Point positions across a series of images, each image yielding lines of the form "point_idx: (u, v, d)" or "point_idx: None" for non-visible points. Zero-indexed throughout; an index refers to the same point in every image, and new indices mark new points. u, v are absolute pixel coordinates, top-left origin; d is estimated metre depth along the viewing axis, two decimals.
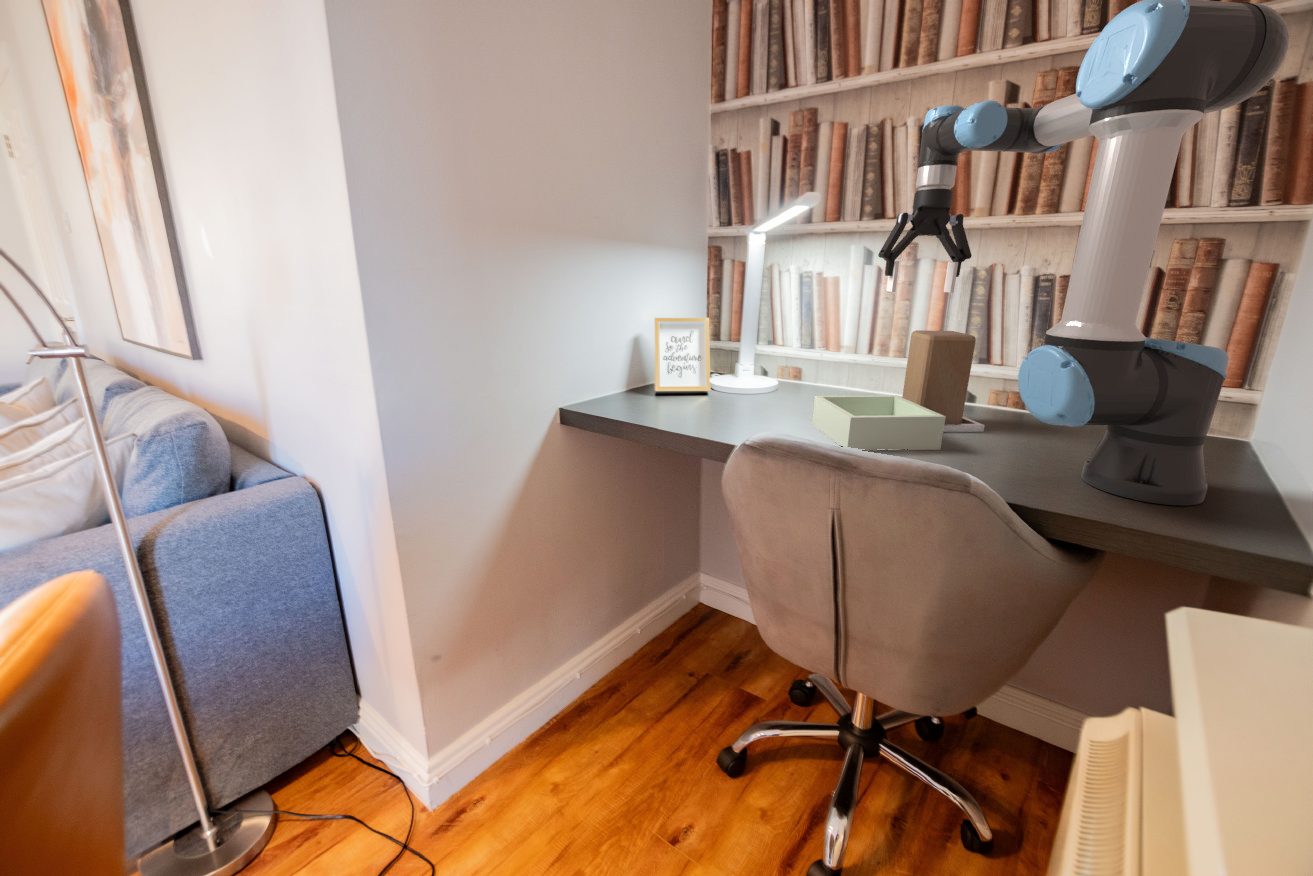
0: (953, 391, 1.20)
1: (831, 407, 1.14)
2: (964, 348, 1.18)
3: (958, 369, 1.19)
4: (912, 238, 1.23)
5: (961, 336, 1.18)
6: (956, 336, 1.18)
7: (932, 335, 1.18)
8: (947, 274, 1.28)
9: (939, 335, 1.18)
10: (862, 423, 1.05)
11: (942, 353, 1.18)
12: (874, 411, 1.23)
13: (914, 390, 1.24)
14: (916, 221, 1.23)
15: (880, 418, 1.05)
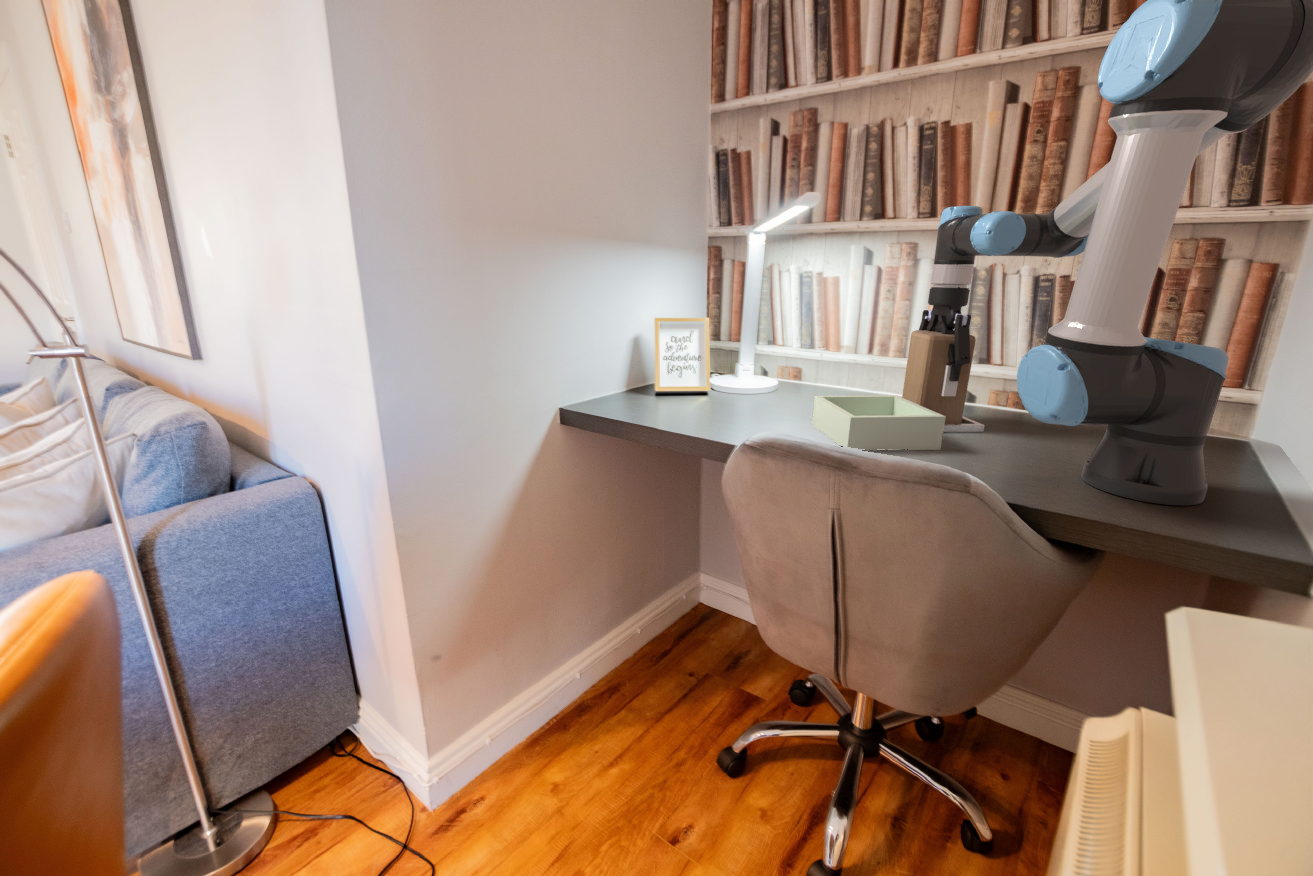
0: None
1: (831, 407, 1.14)
2: None
3: None
4: None
5: None
6: None
7: (932, 335, 1.18)
8: None
9: (939, 335, 1.18)
10: (862, 423, 1.05)
11: (942, 353, 1.18)
12: (874, 411, 1.23)
13: (914, 390, 1.24)
14: None
15: (880, 418, 1.05)
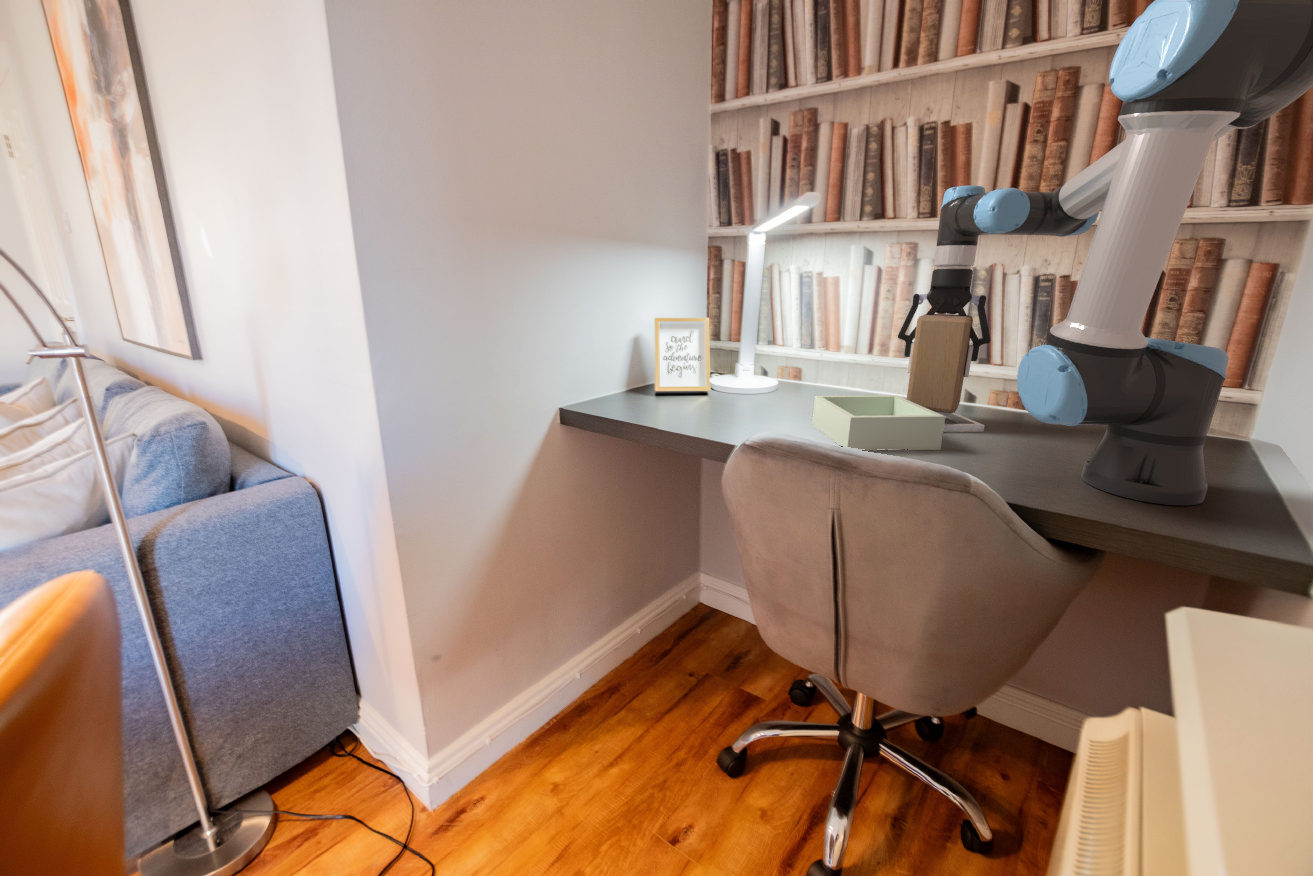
0: None
1: (831, 407, 1.14)
2: None
3: None
4: None
5: (970, 316, 1.20)
6: (970, 317, 1.19)
7: (967, 318, 1.15)
8: (966, 358, 1.22)
9: (968, 317, 1.16)
10: (862, 423, 1.05)
11: (969, 335, 1.18)
12: (874, 411, 1.23)
13: (945, 376, 1.19)
14: (930, 300, 1.20)
15: (880, 418, 1.05)
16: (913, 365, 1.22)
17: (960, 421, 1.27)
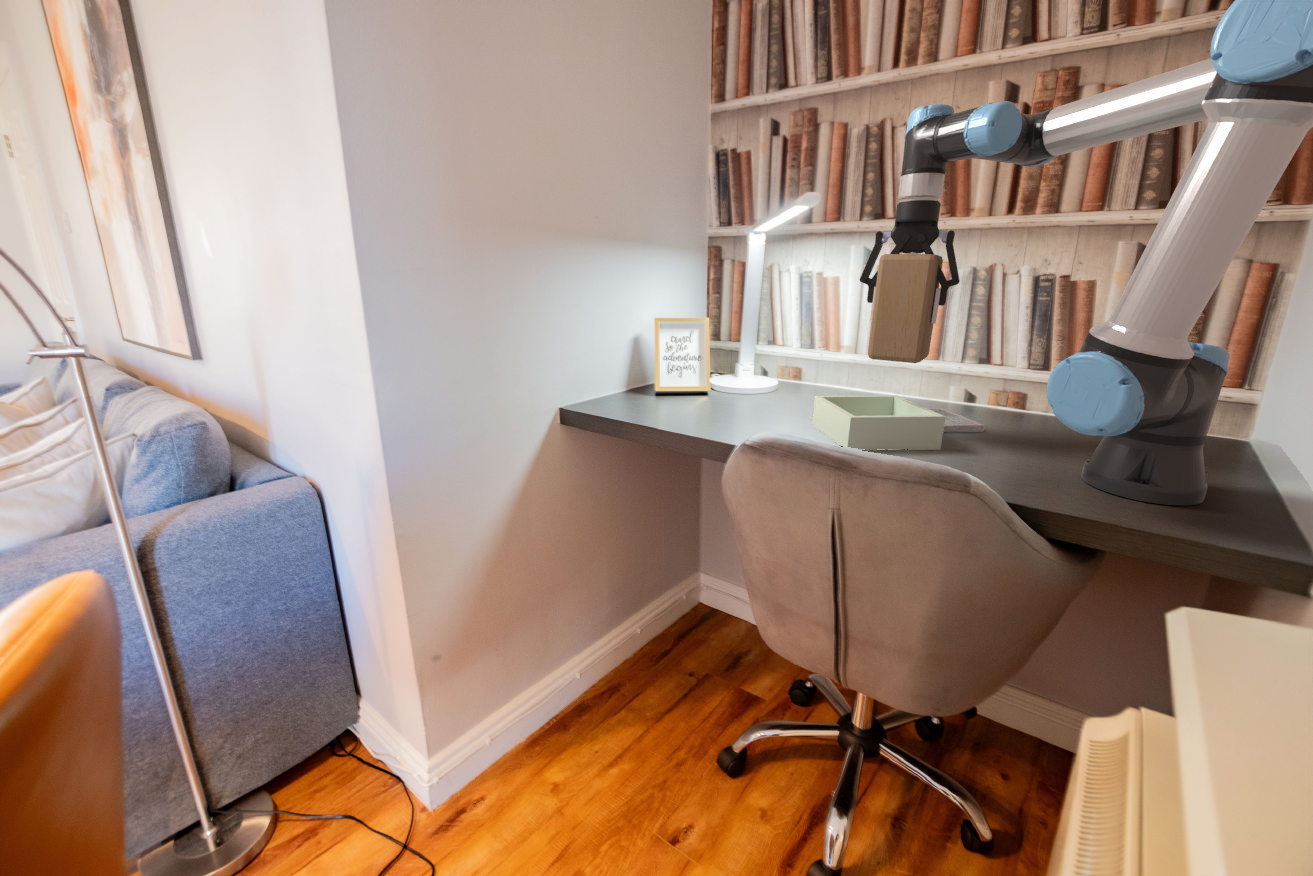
0: None
1: (831, 407, 1.14)
2: None
3: None
4: None
5: (939, 256, 1.09)
6: (938, 256, 1.08)
7: (932, 255, 1.04)
8: None
9: (934, 255, 1.05)
10: (862, 423, 1.05)
11: (935, 275, 1.06)
12: (874, 411, 1.23)
13: (908, 322, 1.08)
14: (894, 238, 1.09)
15: (880, 418, 1.05)
16: (875, 310, 1.11)
17: (960, 421, 1.27)
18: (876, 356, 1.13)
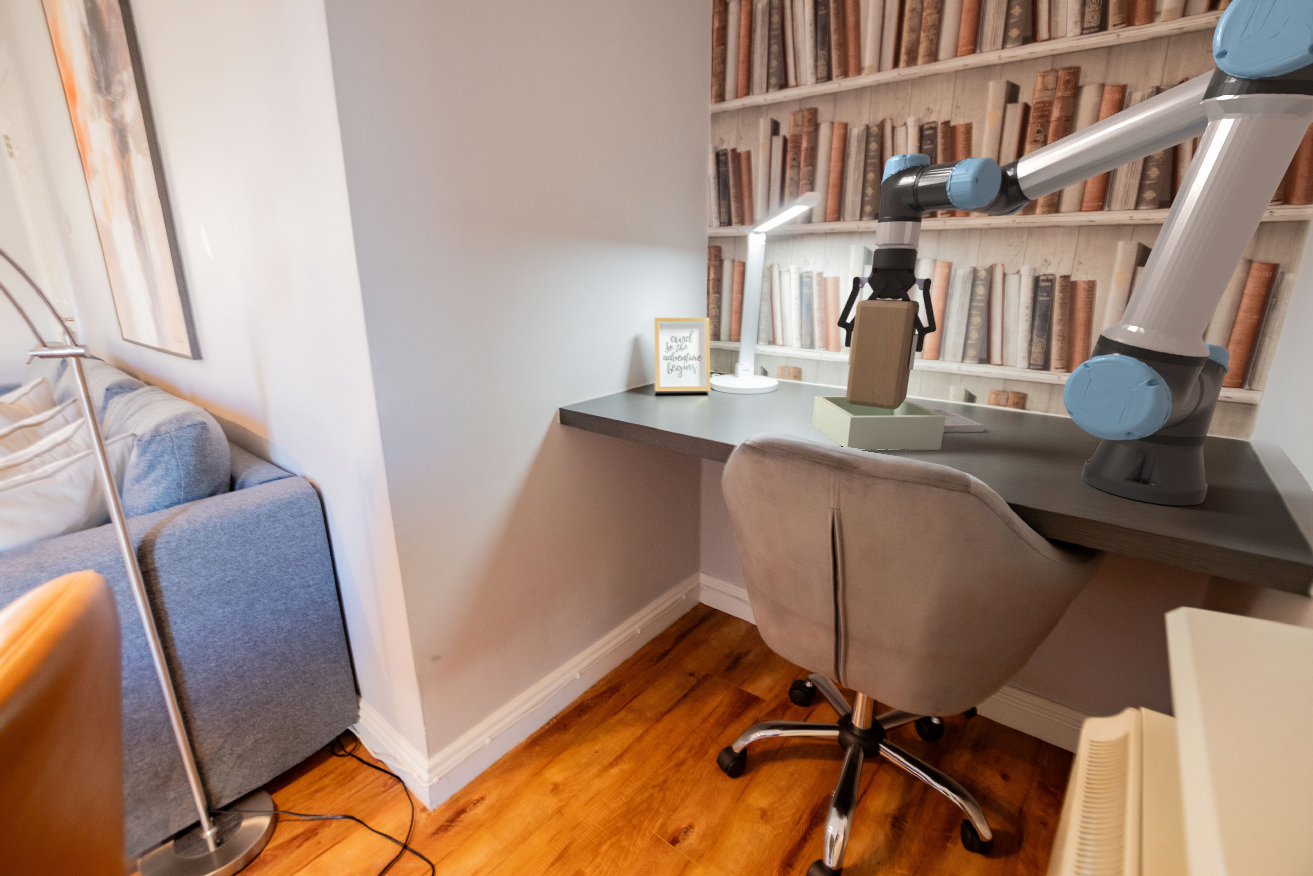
0: None
1: (831, 407, 1.14)
2: None
3: None
4: None
5: (915, 302, 1.08)
6: (915, 302, 1.07)
7: (909, 303, 1.03)
8: None
9: (911, 303, 1.04)
10: (862, 423, 1.05)
11: (912, 323, 1.06)
12: (874, 411, 1.23)
13: (886, 368, 1.07)
14: (871, 284, 1.08)
15: (880, 418, 1.05)
16: (852, 356, 1.10)
17: (960, 421, 1.27)
18: (855, 402, 1.12)
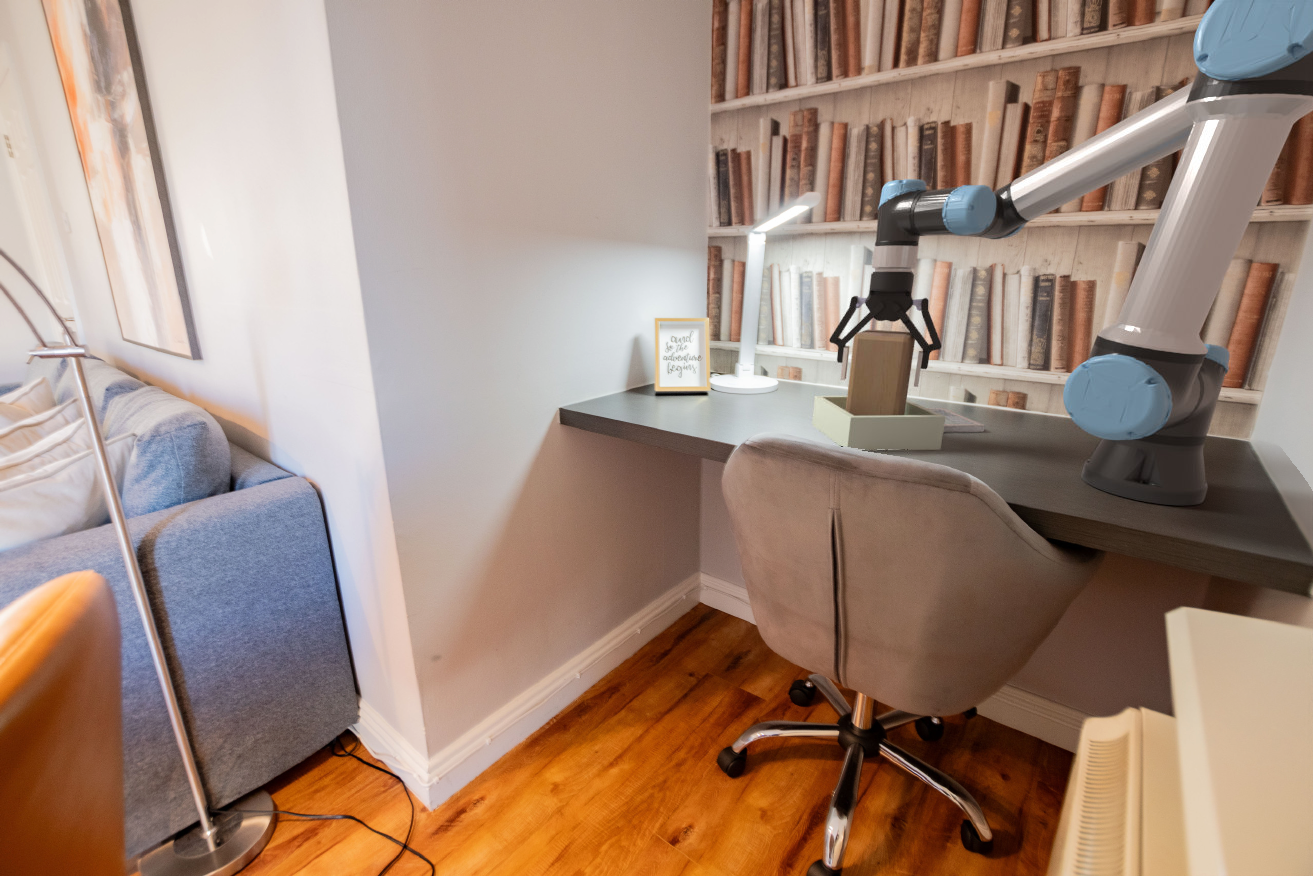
0: (906, 393, 1.13)
1: (831, 407, 1.14)
2: (913, 346, 1.11)
3: (909, 369, 1.12)
4: (863, 324, 1.10)
5: (911, 334, 1.10)
6: (911, 335, 1.09)
7: (906, 337, 1.05)
8: None
9: (907, 336, 1.06)
10: (862, 423, 1.05)
11: (909, 355, 1.07)
12: None
13: (883, 400, 1.09)
14: (868, 305, 1.09)
15: (880, 418, 1.05)
16: (850, 387, 1.11)
17: (960, 421, 1.27)
18: None
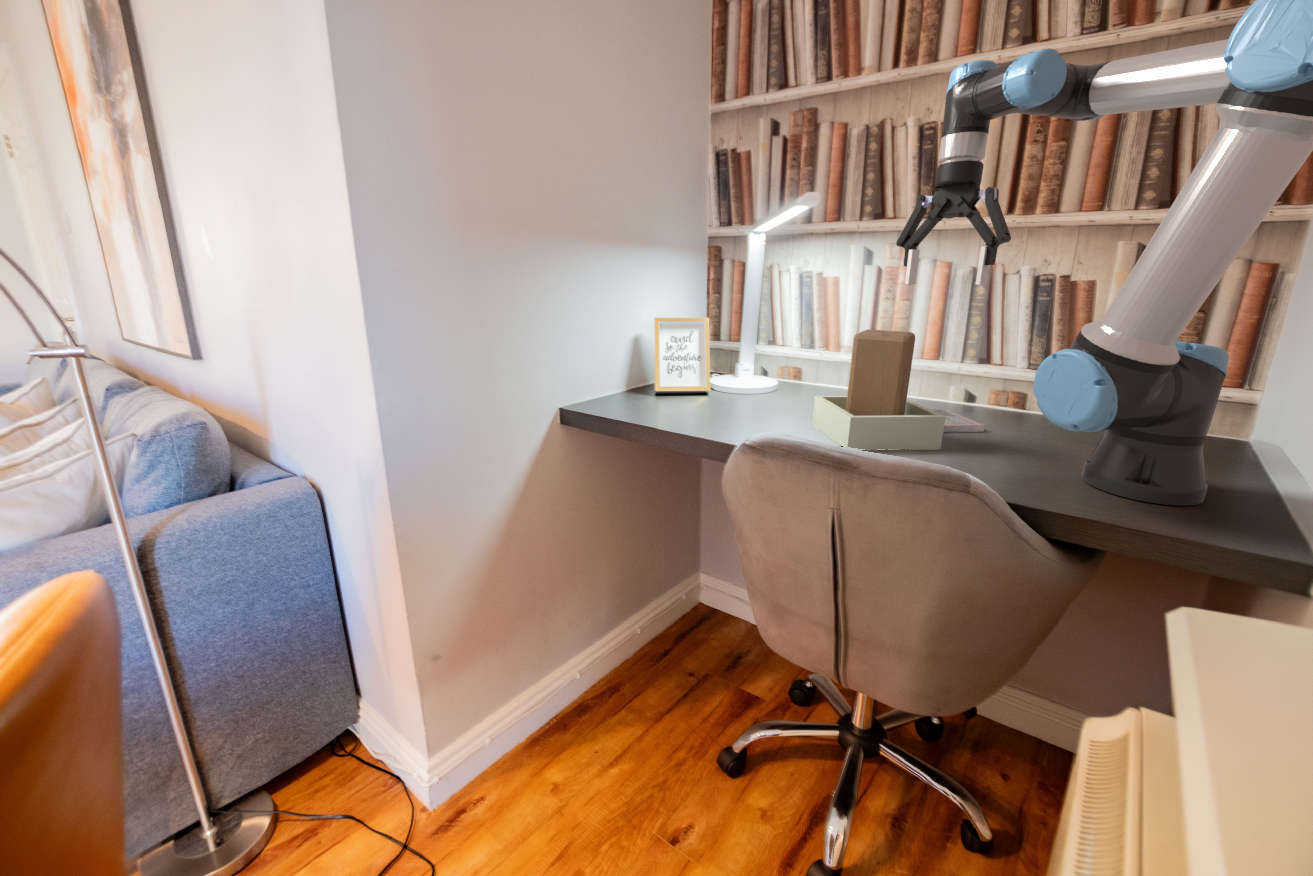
0: (906, 393, 1.13)
1: (831, 407, 1.14)
2: (913, 346, 1.11)
3: (909, 369, 1.12)
4: (928, 222, 1.08)
5: (911, 334, 1.10)
6: (911, 335, 1.09)
7: (906, 337, 1.05)
8: None
9: (907, 336, 1.06)
10: (862, 423, 1.05)
11: (909, 355, 1.07)
12: None
13: (883, 400, 1.09)
14: (933, 203, 1.07)
15: (880, 418, 1.05)
16: (850, 387, 1.11)
17: (960, 421, 1.27)
18: None
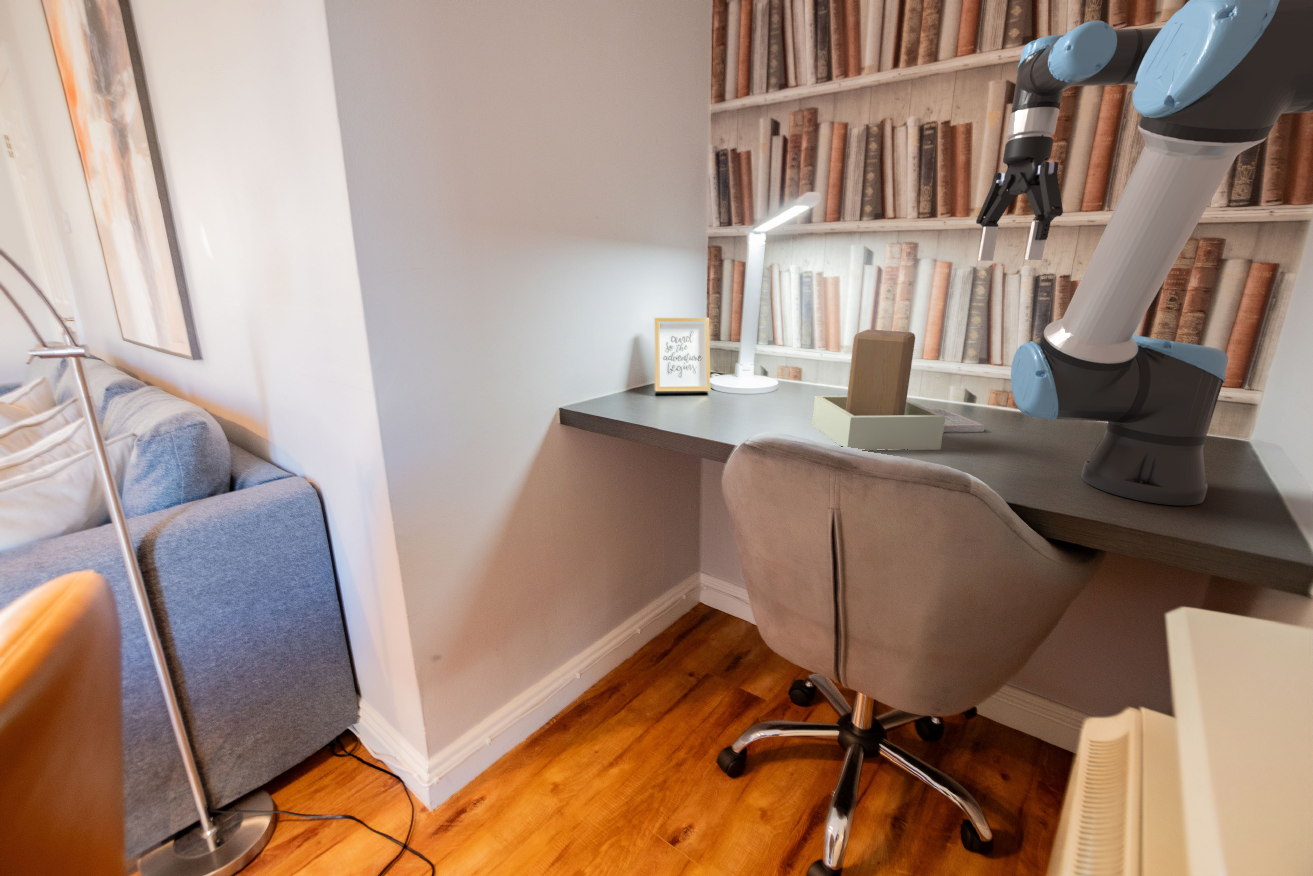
0: (906, 393, 1.13)
1: (831, 407, 1.14)
2: (913, 346, 1.11)
3: (909, 369, 1.12)
4: (998, 199, 1.11)
5: (911, 334, 1.10)
6: (911, 335, 1.09)
7: (906, 337, 1.05)
8: None
9: (907, 336, 1.06)
10: (862, 423, 1.05)
11: (909, 355, 1.07)
12: None
13: (883, 400, 1.09)
14: (1004, 180, 1.10)
15: (880, 418, 1.05)
16: (850, 387, 1.11)
17: (960, 421, 1.27)
18: None
